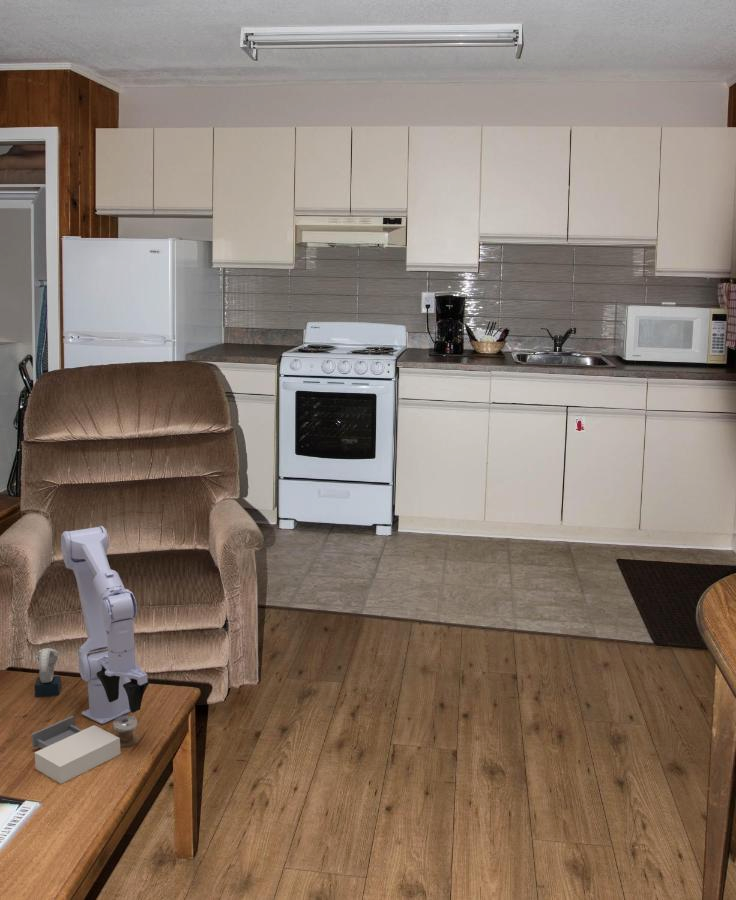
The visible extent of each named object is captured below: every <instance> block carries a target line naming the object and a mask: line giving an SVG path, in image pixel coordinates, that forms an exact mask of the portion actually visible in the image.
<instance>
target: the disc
mask: <svg viewBox="0 0 736 900" xmlns="http://www.w3.org/2000/svg"><path fill="white" fill-rule="evenodd" d="M112 721H113V730H114V731H115V732H118V733H119V732H129V731H132V730H133V731H134V730H135V729H136V728H137V727H138V719H137V717H136V716H134V715H129V714H128V715H125V714H124V715H121V716H119V717H117V718H115V719H113V720H112Z"/></svg>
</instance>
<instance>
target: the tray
mask: <svg viewBox="0 0 736 900" xmlns="http://www.w3.org/2000/svg"><path fill="white" fill-rule="evenodd" d="M75 721H76V720H75V716H74V715H70V716H69V717H66V718H65V719H62V720H60V721H57V722H55V723H52V724H50V725H48V726H46V727H44V728H42V729H40V730H37V731H35V732H32V733H31V734H30V735H31V747H32V748H33V749H35V748H39V749H40V750H41V749H43V748H45V747H48V746H50V745H52V744H54V743H56V742H58V741H61V740H63V739H65V738H67V737H69V736H71V735H74V734H76V733H78V732H80V731H82V730H83V729H81V728H79V727H78V726H76V722H75Z"/></svg>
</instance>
